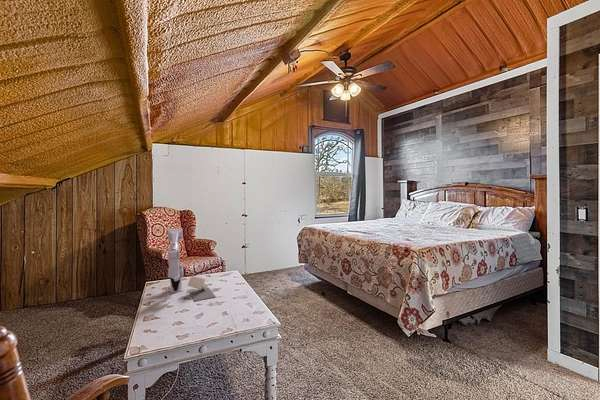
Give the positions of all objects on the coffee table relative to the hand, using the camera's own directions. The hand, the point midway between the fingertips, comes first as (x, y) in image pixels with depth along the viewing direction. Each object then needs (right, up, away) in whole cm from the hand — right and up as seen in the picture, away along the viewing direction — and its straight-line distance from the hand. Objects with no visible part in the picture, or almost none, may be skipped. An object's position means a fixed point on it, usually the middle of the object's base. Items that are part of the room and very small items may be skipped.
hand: (175, 289), depth 183 cm
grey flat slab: (+16, -5, +6) cm, 18 cm away
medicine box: (+9, +4, +5) cm, 11 cm away
